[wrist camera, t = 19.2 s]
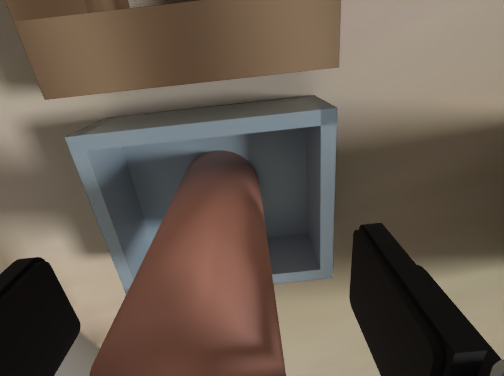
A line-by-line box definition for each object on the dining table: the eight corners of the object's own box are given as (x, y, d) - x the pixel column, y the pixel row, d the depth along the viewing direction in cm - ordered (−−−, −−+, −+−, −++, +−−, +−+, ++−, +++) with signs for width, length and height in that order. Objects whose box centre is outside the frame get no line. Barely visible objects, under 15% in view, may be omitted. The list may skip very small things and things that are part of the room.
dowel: (257, 147, 14) (286, 315, 5) (261, 216, 16) (286, 434, 7) (177, 153, 14) (60, 330, 5) (189, 221, 16) (118, 446, 7)
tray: (314, 95, 14) (337, 107, 10) (315, 235, 17) (332, 278, 14) (106, 117, 14) (64, 137, 11) (149, 252, 17) (127, 298, 14)
